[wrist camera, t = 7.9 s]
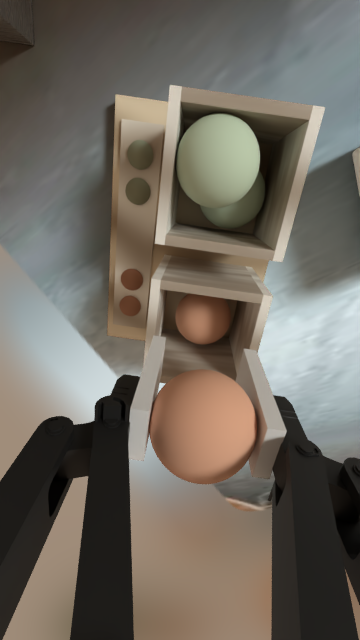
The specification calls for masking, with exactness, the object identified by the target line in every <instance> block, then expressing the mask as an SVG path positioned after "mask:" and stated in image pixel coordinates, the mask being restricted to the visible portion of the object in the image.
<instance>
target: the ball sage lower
mask: <svg viewBox="0 0 360 640" xmlns="http://www.w3.org/2000/svg"><path fill="white" fill-rule="evenodd" d="M264 198H265V183H264V179H263V176H262V174H261V172H260V171H259V170H258V174H257V177H256V179H255V181H254V183H253V185H252V187H251V188H250V190H249V191H248V192H247V193H246V195H245V196H243V197H242V198H241V199H240V200H238V201H237V202H235V203H234V204H231V205H229V206H226V207H222V208H209V207H205V206H202V205H200V207H201V210H202V212H203V214H204V215H205V217H206V218H207V219H208V220H209V221H210V222H211V223H213V224H214V225H216V226H218V227H221V228H227V229H232V228H238V227H241V226H243V225H245V224H247V223H249V222H250V221H251V220H252V219H253V218H254V217H255V216H256V215H257V214H258V212H259V211H260V209H261V207H262V205H263V202H264Z"/></svg>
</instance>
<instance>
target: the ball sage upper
mask: <svg viewBox="0 0 360 640" xmlns="http://www.w3.org/2000/svg"><path fill="white" fill-rule="evenodd" d="M259 164H260V151H259V145H258V142H257V139H256V137H255V135H254V133H253V131H252V130H251V128H250V127H249V126H248V125H247V124H246V123H245V122H244V121H243V120H241V119H240V118H238V117H236V116H234V115H230V114H226V113H215V114H210V115H207V116H204V117H202V118H201V119H199V120H197V121H196V122H195V123H194V124H192V125H191V126H190V127H189V129H188V130H187V131H186V132H185V134H184V136H183V137H182V139H181V141H180V144H179V147H178V150H177V155H176V172H177V177H178V180H179V182H180V185H181V187H182V189H183V190H184V192H185V193H186V194H187V195H188V197H190V198H191V199H192V200H193V201H194V202H196V203H198V204H200V205H202V206H205V207H209V208H222V207H226V206H229V205H231V204H234V203H235V202H237V201H238V200H240V199H241V198H242V197H243V196H245V195H246V193H247V192H248V191H249V190H250V188H251V187H252V185H253V183H254V181H255V179H256V177H257V174H258V170H259Z"/></svg>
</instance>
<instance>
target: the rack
mask: <svg viewBox="0 0 360 640" xmlns="http://www.w3.org/2000/svg"><path fill="white" fill-rule="evenodd" d="M324 110H325V107H319V106H312V105H305V104H298V103H291V102H285V101H278V100H271V99H264V98H257V97H250V96H243V95H236V94H229V93H222V92H215V91H208V90H201V89H195V88H188V87H181V86H174V85H170V90H169V100H168V102H165V101H158V100H151V99H144V98H137V97H130V96H123V95H116V99H115V127H114V156H113V184H112V213H111V241H110V269H109V298H108V326H107V335H108V336H115V337H121V338H128V339H135V340H142V341H145V351H144V362H143V367H144V364H145V361H146V358H147V354H148V351H149V348H150V345H151V342H152V339H153V335H154V336H161V337H166V341H165V349H164V357H163V364H162V372H161V378H160V383H167V382H168V381H170V380H171V379H173V378H174V377H176V376H177V375H179V374H181V373H184V372H187V371H191V370H197V369H205V370H212V371H216V372H220V373H222V374H224V375H226V376H228V377H229V378H231V379H233V380H234V381H236V377H237V373H238V369H239V365H240V361H241V357H242V353H243V349H250V350H256V351H257V352H258V349H259V345H260V342H261V338H262V334H263V331H264V327H265V323H266V320H267V316H268V313H269V309H270V305H271V302H272V298H273V296H272V294H271V293H270V292H269V290H268V289H267V287H266V286H265V285H264V283H263V281H264V277H265V273H266V269H267V265H268V261H269V260H271V261H278V262H283V258H284V255H285V251H286V248H287V244H288V240H289V237H290V233H291V229H292V226H293V222H294V219H295V215H296V211H297V208H298V204H299V201H300V197H301V193H302V190H303V186H304V183H305V179H306V175H307V172H308V168H309V164H310V161H311V157H312V154H313V150H314V146H315V143H316V139H317V136H318V132H319V128H320V125H321V121H322V117H323V114H324ZM215 113H226V114H230V115H234V116H236V117H238V118H240V119H241V120H243V121H244V122H245V123H246V124H247V125H248V126H249V127H250V128H251V130H252V131H253V133H254V135H255V137H256V139H257V142H258V145H259V151H260V164H259V171H260V172H261V174H262V176H263V179H264V183H265V198H264V202H263V205H262V207H261V209H260V211H259V212H258V214H257V215H256V216H255V217H254V218H253V219H252V220H251V221H250V222H249V223H247V224H245V225H243V226H241V227H238V228H232V229H227V228H221V227H218V226H216V225H214V224H213V223H211V222H210V221H209V220H208V219H207V218H206V217H205V215H204V214H203V212H202V210H201V207H200V204H198V203H196V202H194V201H193V200H192V199H191V198H190V197H188V195H187V194H186V193H185V192H184V190H183V189H182V187H181V185H180V182H179V180H178V177H177V172H176V155H177V150H178V147H179V144H180V141H181V139H182V137H183V136H184V134H185V132H186V131H187V130H188V129H189V127H190V126H191V125H192V124H194V123H195V122H196V121H197V120H199V119H201V118H202V117H204V116H207V115H210V114H215ZM188 293H191V294H198V295H205V296H211V297H218V298H224V299H225V301H226V302H227V304H228V306H229V309H230V313H231V321H230V325H229V328H228V330H227V332H226V333H225V334H224V336H223V337H221V338H220V339H219V340H217V341H216V342H213V343H210V344H203V345H202V344H196V343H193V342H191V341H189V340H187V339H186V338H185V337H184V336H183V335H182V334H181V333H180V331H179V330H178V327H177V325H176V319H175V316H176V309H177V307H178V304H179V302H180V301H181V300H182V299H183V298H184V296H186V295H187V294H188Z"/></svg>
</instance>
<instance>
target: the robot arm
mask: <svg viewBox="0 0 360 640" xmlns="http://www.w3.org/2000/svg"><path fill="white" fill-rule="evenodd" d="M165 341H166V337H161V336H154V335H153V339H152V342H151V345H150V348H149V351H148V354H147V358H146V361H145V364H144V367H143V370H142V373H141V376H140V377H138V376H131V375H122V376H121V377H120V378H119V379H117V381H116V384H115V386H114V389H113V391H112V393H111V395H110V396H105V397H103V398H101V399H99V400H98V401H97V402H96V405H95V421H93V422H90V423H86V424H78V425H73V421H71V420H70V419H69V418H67V417H63V416H56V417H52V418H49V419H47V420H45V421H43V422H42V423H41V424H40V425H39V426H38V428H37V429H36V431H35V432H34V433H33V435H32V436H31V438H30V439H29V441H28V442H27V443H26V445H25V446H24V448H23V449H22V451H21V452H20V454H19V455H18V456H17V458H16V459H15V461H14V463H13V464H12V465H11V467H10V468H9V470H8V471H7V472H6V474H5V475H4V477H3V478H2V480H1V481H0V640H2V639H3V636H4V635H5V632H6V630H7V628H8V625H9V623H10V621H11V618H12V616H13V614H14V612H15V610H16V607H17V605H18V603H19V601H20V598H21V596H22V594H23V591H24V589H25V587H26V585H27V582H28V580H29V578H30V576H31V573H32V571H33V569H34V566H35V564H36V562H37V560H38V558H39V555H40V553H41V551H42V548H43V546H44V544H45V542H46V539H47V537H48V535H49V533H50V530H51V528H52V526H53V524H54V520H55V519H56V517H57V514H58V512H59V510H60V507H61V505H62V503H63V501H64V499H65V496H66V494H67V492H68V490H69V487H70V485H71V483H72V480H73V478H78V477H84V476H88V485H87V494H86V503H85V512H84V521H83V529H82V538H81V548H80V556H79V565H78V575H77V583H76V592H75V600H74V609H73V618H72V627H71V637H70V640H134V634H133V633H134V632H133V595H132V559H131V523H130V486H129V459H133V460H141V461H144V457H145V451H146V447H147V442H148V437H149V422H150V415H151V410H152V405H153V402H154V400H155V398H156V396H157V393H158V388H159V383H160V378H161V372H162V364H163V357H164V349H165ZM235 382H236V383H238V384H239V385H240V386H241V388H242V389H243V390H244V391H245V392H246V394H247V395H248V397H249V399H250V400H251V403H252V405H253V407H254V410H255V414H256V420H257V437H256V442H255V446H254V449H253V451H252V454H251V456H250V457H249V464H250V469H251V475H252V477H258V478H264V479H270V476H271V473H272V470H273V472H274V476H275V481H274V484H273V487H272V489H271V492H270V495H269V498H268V501H271V499H272V640H359V639H358V634H357V628H356V623H355V618H354V613H353V608H352V603H351V598H350V593H349V588H348V583H347V577H346V572H347V574H348V577H349V579H350V582H351V585H352V587H353V589H354V592H355V594H356V597H357V599H358V602H359V605H360V459H357V458H347V459H346V460H345V461H344V463H343V464H342V463H339V462H336V461H334V460H331V459H329V458H327V457H324V456H323V455H322V453H321V450H320V449H319V448H318V447H317V446H316V445H315V444H314V443H312V442H311V441H309V440H308V439H307V437H306V435H305V433H304V431H303V428H302V426H301V424H300V422H299V419H298V417H297V415H296V413H295V411H294V408H293V406H292V404H291V403H290V402H289V401H288V400H287V399H286V398H285V397H281V396H274V395H273V394H272V391H271V388H270V386H269V383H268V380H267V378H266V375H265V372H264V370H263V367H262V364H261V362H260V359H259V357H258V354H257V351H256V350H250V349H243V353H242V357H241V361H240V365H239V369H238V373H237V377H236V381H235ZM345 569H346V572H345Z"/></svg>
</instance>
